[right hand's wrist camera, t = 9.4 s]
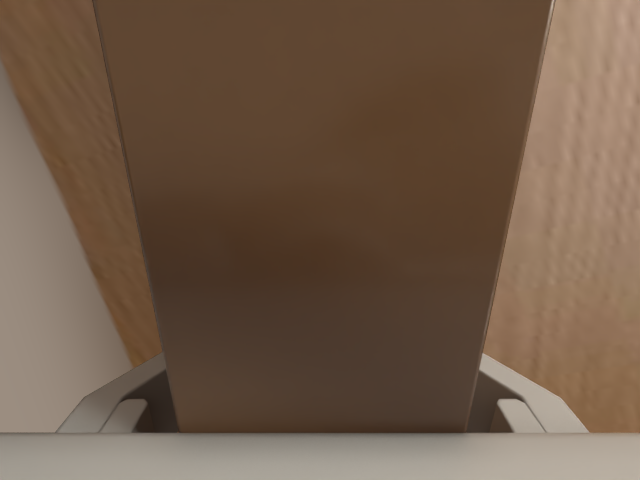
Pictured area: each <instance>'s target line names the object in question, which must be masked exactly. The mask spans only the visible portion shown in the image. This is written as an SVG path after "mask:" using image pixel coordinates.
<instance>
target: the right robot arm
mask: <svg viewBox="0 0 640 480" xmlns="http://www.w3.org/2000/svg"><path fill="white" fill-rule="evenodd" d="M177 432H178V426H177V421H176V416H175V411H174V406H173V401H172V396H171V391H170V386H169V381H168V376H167V371H166V366H165V361H164V356H163V352H161V353H160V354H158V355H156V356H155V357H153V358H151V359H149V360H148V361H146V362H144V363H142V364H141V365H139V366H137V367H136V368H134V369H132V370H130V371H129V372H127V373H125V374H123V375H122V376H120V377H118V378H117V379H115V380H113V381H111V382H110V383H108V384H106V385H104V386H103V387H101V388H99V389H98V390H96V391H94V392H92V393H91V394H89V395H87V396H86V397H84V398H83V399H82V400H81V402H80V403H79V404H78V405H77V407H76V408H75V409H74V410H73V411H72V413H71V414H70V415H69V416H68V417H67V419H66V420H65V421H64V422H63V423H62V425H61V426H60V427H59V428H58V430H57V431H56V432H55V433H0V480H640V433H590V432H589V431H588V430H587V429H586V428H585V426H584V425H583V424H582V423H581V422H580V420H579V419H578V418H577V417H576V416H575V414H574V413H573V412H572V411H571V410H570V408H569V407H568V406H567V405H566V404H565V402H564V401H563V400H562V399H561V398H560V397H558V396H557V395H555V394H553V393H551V392H550V391H548V390H546V389H544V388H543V387H541V386H539V385H538V384H536V383H534V382H532V381H531V380H529V379H527V378H525V377H524V376H522V375H520V374H518V373H517V372H515V371H513V370H511V369H510V368H508V367H506V366H505V365H503V364H501V363H499V362H498V361H496V360H494V359H492V358H491V357H489V356H487V355H485V354H484V353H482V358H481V363H480V368H479V372H478V377H477V382H476V387H475V392H474V397H473V401H472V406H471V411H470V416H469V421H468V426H467V430H466V432H467V433H177Z"/></svg>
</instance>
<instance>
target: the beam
mask: <svg viewBox="0 0 640 480" xmlns="http://www.w3.org/2000/svg"><path fill="white" fill-rule="evenodd" d="M92 1H93V6H94V11H95V16H96V21H97V26H98V31H99V36H100V41H101V46H102V51H103V56H104V61H105V66H106V71H107V76H108V81H109V86H110V91H111V96H112V101H113V106H114V111H115V116H116V121H117V126H118V131H119V136H120V141H121V146H122V151H123V156H124V161H125V166H126V171H127V176H128V181H129V186H130V191H131V196H132V201H133V206H134V211H135V216H136V221H137V226H138V231H139V236H140V241H141V246H142V251H143V256H144V261H145V266H146V271H147V276H148V281H149V286H150V291H151V296H152V301H153V306H154V311H155V316H156V321H157V326H158V331H159V336H160V341H161V346H162V351H163V356H164V361H165V366H166V371H167V376H168V381H169V386H170V391H171V396H172V401H173V406H174V411H175V416H176V421H177V426H178V431H179V433H466V430H467V426H468V421H469V416H470V411H471V406H472V401H473V397H474V392H475V387H476V382H477V377H478V372H479V368H480V363H481V358H482V353H483V348H484V344H485V339H486V334H487V329H488V324H489V319H490V315H491V310H492V305H493V300H494V295H495V290H496V286H497V281H498V276H499V271H500V266H501V261H502V257H503V252H504V247H505V242H506V237H507V233H508V228H509V223H510V218H511V213H512V208H513V204H514V199H515V194H516V189H517V184H518V179H519V175H520V170H521V165H522V160H523V155H524V150H525V146H526V141H527V136H528V131H529V126H530V121H531V117H532V112H533V107H534V102H535V97H536V93H537V88H538V83H539V78H540V73H541V68H542V64H543V59H544V54H545V49H546V44H547V39H548V35H549V30H550V25H551V20H552V15H553V10H554V6H555V1H556V0H92Z"/></svg>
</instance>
